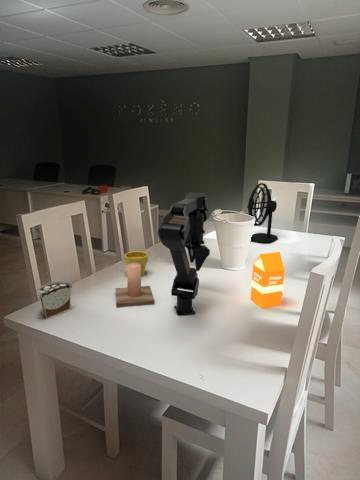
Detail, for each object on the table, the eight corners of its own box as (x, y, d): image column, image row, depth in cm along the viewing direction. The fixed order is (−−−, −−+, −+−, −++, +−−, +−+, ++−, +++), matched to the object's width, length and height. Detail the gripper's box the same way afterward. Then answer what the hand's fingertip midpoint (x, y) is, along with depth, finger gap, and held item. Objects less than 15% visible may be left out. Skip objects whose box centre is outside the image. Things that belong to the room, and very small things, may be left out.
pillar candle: (141, 296, 132) (141, 267, 129) (127, 297, 131) (127, 268, 128) (140, 291, 137) (140, 262, 134) (127, 291, 136) (126, 263, 133)
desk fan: (257, 232, 235) (261, 180, 225) (282, 236, 225) (288, 182, 215) (239, 241, 214) (242, 184, 205) (265, 246, 204) (271, 186, 194)
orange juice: (250, 300, 134) (253, 251, 129) (269, 296, 137) (273, 248, 132) (261, 309, 127) (265, 257, 122) (281, 305, 130) (286, 255, 125)
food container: (64, 302, 130) (62, 278, 127) (73, 307, 126) (71, 282, 123) (33, 314, 121) (30, 288, 118) (42, 320, 117) (39, 293, 114)
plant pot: (142, 280, 152) (141, 259, 149) (121, 277, 155) (120, 256, 152) (151, 272, 161) (151, 252, 158) (131, 269, 164) (131, 249, 162)
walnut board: (154, 304, 130) (154, 300, 129) (116, 307, 127) (116, 303, 126) (149, 289, 143) (149, 285, 142) (115, 291, 140) (115, 288, 140)
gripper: (169, 221, 135) (169, 259, 139) (179, 234, 117) (178, 277, 122) (197, 220, 137) (196, 258, 141) (211, 233, 120) (209, 275, 124)
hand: (194, 266), depth 132 cm, fingers open, 9 cm apart
